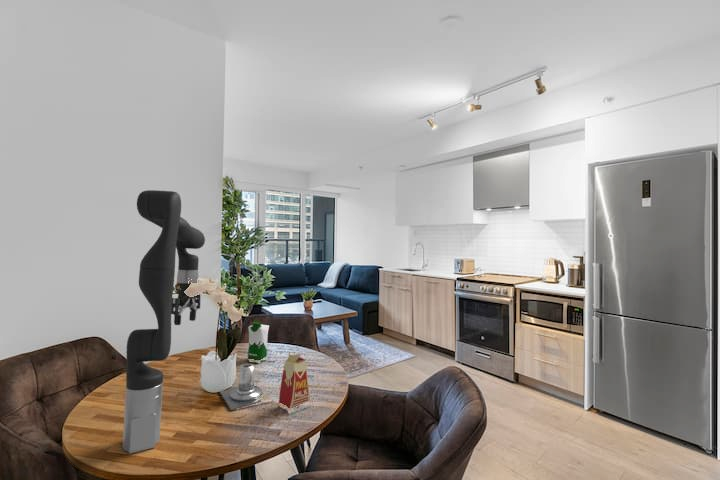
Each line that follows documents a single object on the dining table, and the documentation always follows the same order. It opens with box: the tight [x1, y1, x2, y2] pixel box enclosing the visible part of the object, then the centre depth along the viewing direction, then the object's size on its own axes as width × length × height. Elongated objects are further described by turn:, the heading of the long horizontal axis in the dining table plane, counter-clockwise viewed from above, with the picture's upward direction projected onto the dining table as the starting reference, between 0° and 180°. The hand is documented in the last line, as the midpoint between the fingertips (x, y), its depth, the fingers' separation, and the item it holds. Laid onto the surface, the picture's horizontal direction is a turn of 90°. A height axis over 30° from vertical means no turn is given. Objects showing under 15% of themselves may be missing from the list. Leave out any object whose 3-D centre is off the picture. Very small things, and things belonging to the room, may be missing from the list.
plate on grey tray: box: [219, 385, 262, 411], centre depth 133 cm, size 18×16×2 cm
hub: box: [237, 363, 256, 395], centre depth 133 cm, size 7×7×10 cm
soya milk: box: [247, 321, 270, 360], centre depth 175 cm, size 9×9×20 cm
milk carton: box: [278, 353, 311, 409], centre depth 127 cm, size 9×9×20 cm
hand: (185, 322), depth 133 cm, fingers open, 8 cm apart
